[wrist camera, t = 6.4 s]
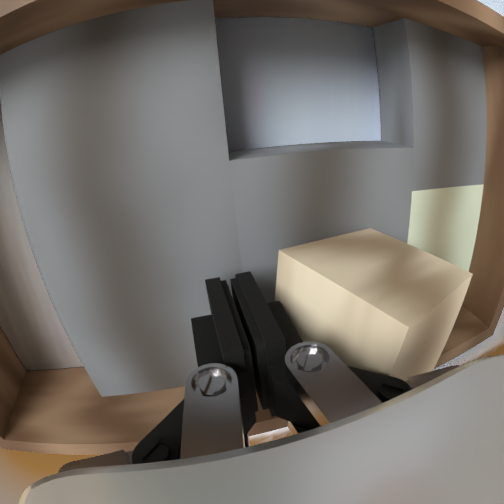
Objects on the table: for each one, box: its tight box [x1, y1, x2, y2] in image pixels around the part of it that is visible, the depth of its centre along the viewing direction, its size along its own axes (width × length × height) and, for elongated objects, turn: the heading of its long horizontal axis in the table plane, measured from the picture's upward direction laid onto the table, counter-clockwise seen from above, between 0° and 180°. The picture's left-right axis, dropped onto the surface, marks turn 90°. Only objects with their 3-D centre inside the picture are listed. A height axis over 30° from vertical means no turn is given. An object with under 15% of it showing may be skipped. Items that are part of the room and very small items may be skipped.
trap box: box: [0, 0, 504, 455], centre depth 11 cm, size 30×18×6 cm, turn 96°
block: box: [275, 228, 473, 381], centre depth 11 cm, size 5×5×5 cm
